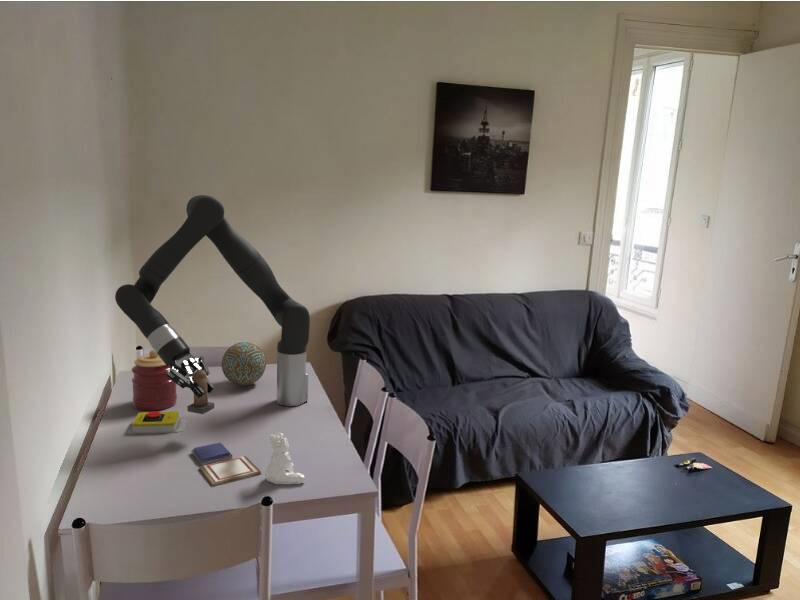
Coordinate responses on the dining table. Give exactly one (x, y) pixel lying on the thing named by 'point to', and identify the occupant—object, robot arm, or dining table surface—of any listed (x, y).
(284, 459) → the seated beast figurine
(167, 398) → the canister
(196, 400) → the stamp
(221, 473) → the framed board
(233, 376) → the decorative sphere
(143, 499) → the dining table surface
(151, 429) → the emergency button
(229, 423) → the dining table surface
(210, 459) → the ink pad
